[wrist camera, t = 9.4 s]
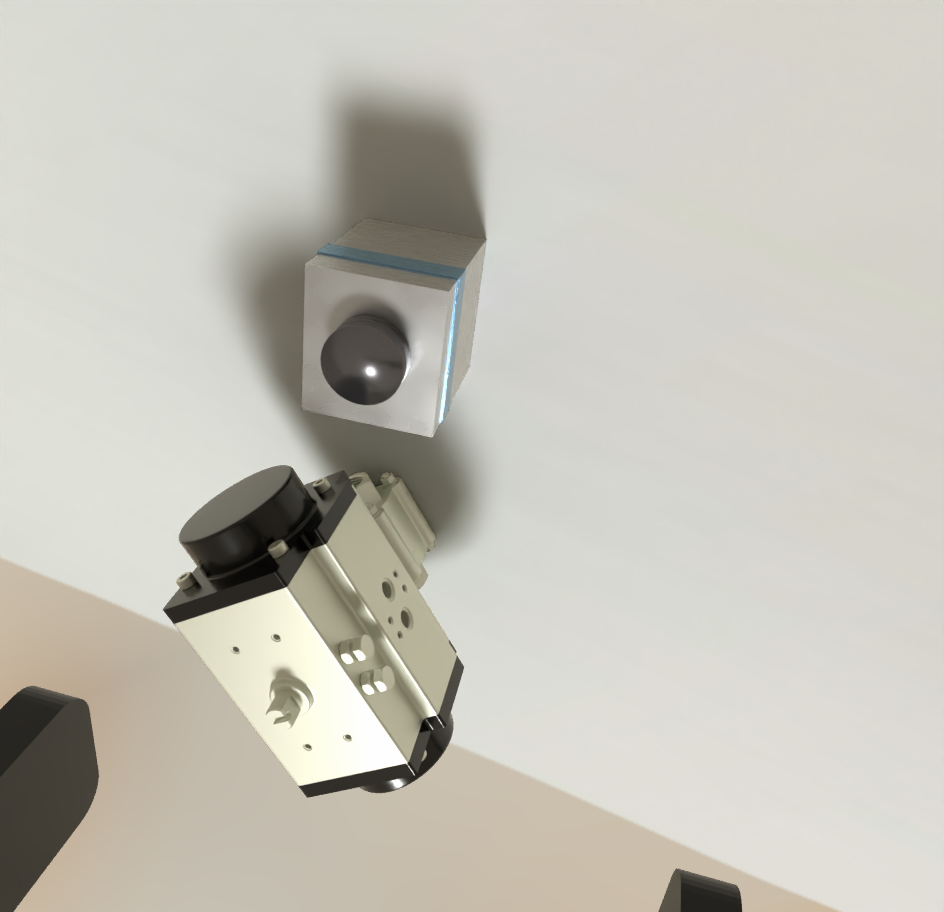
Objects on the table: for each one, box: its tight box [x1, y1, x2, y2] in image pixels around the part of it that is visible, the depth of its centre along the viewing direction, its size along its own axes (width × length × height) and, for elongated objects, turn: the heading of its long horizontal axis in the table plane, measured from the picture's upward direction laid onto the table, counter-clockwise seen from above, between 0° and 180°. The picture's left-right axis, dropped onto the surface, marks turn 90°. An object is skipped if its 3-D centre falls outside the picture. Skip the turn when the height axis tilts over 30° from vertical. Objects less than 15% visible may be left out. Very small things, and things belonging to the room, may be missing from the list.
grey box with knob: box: [302, 218, 487, 437], centre depth 29 cm, size 5×5×7 cm
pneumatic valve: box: [163, 465, 464, 797], centre depth 31 cm, size 6×12×12 cm, turn 27°
